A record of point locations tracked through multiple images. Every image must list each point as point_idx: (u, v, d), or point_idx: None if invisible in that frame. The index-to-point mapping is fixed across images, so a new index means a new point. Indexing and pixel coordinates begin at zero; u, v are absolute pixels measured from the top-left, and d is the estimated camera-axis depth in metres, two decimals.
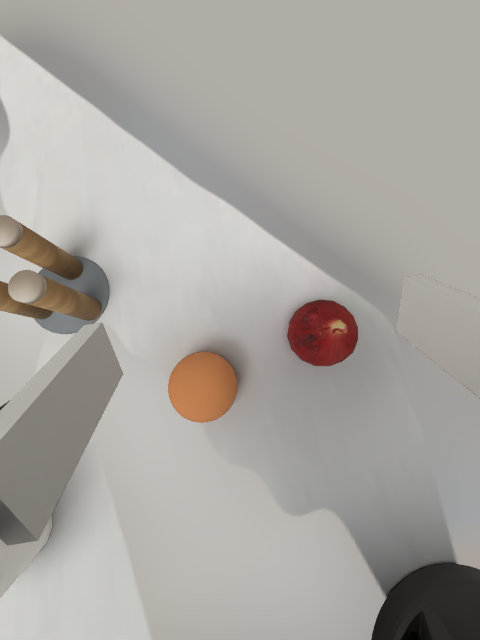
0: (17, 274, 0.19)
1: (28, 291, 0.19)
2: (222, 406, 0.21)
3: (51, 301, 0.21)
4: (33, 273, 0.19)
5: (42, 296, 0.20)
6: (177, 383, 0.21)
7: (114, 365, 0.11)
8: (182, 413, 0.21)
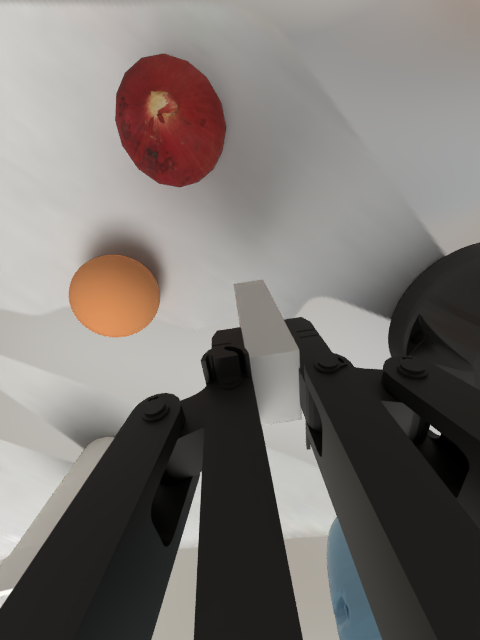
0: None
1: None
2: (142, 305, 0.18)
3: None
4: None
5: None
6: (82, 320, 0.17)
7: None
8: (118, 336, 0.19)
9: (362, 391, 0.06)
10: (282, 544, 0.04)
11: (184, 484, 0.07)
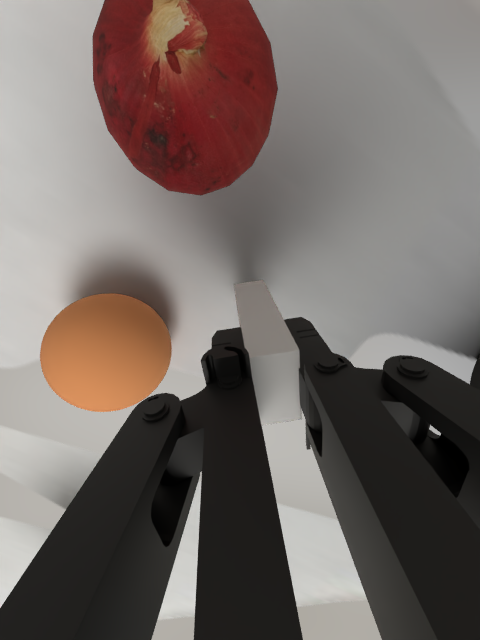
0: None
1: None
2: (147, 369, 0.12)
3: None
4: None
5: None
6: (60, 396, 0.12)
7: None
8: (114, 410, 0.13)
9: (362, 391, 0.06)
10: (282, 544, 0.04)
11: (184, 484, 0.07)
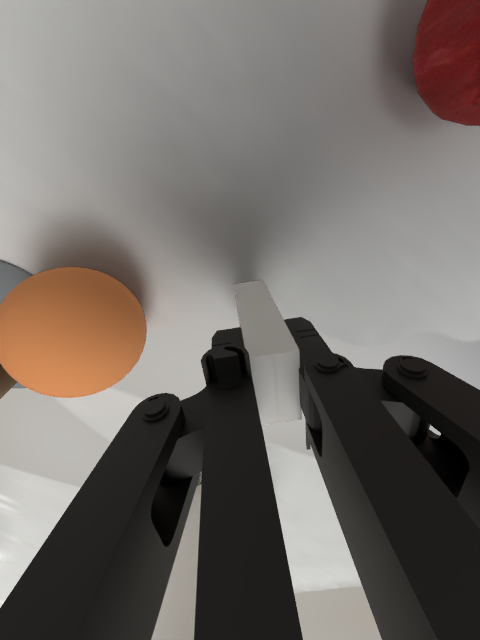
0: None
1: None
2: None
3: None
4: None
5: None
6: None
7: None
8: None
9: (362, 391, 0.06)
10: (282, 544, 0.04)
11: (184, 484, 0.07)
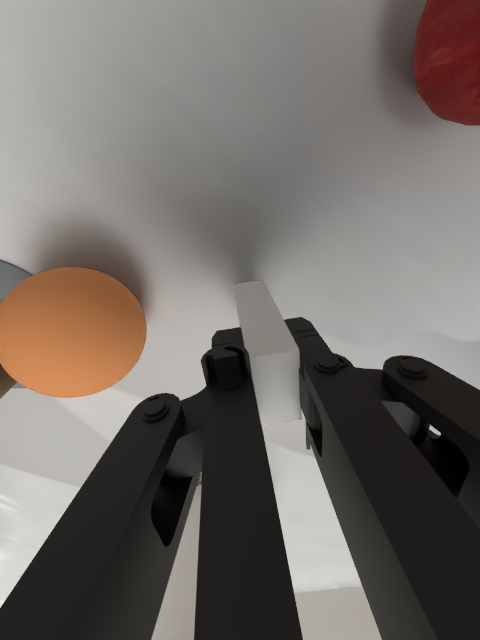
0: None
1: None
2: None
3: None
4: None
5: None
6: None
7: None
8: None
9: (362, 391, 0.06)
10: (282, 544, 0.04)
11: (184, 484, 0.07)
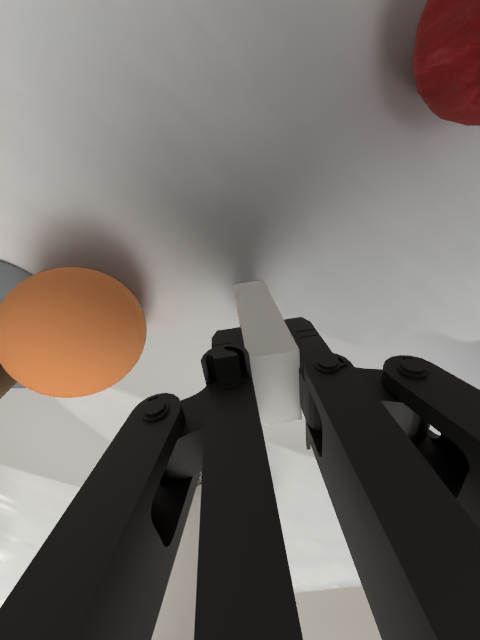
0: None
1: None
2: None
3: None
4: None
5: None
6: None
7: None
8: None
9: (362, 391, 0.06)
10: (282, 544, 0.04)
11: (184, 484, 0.07)
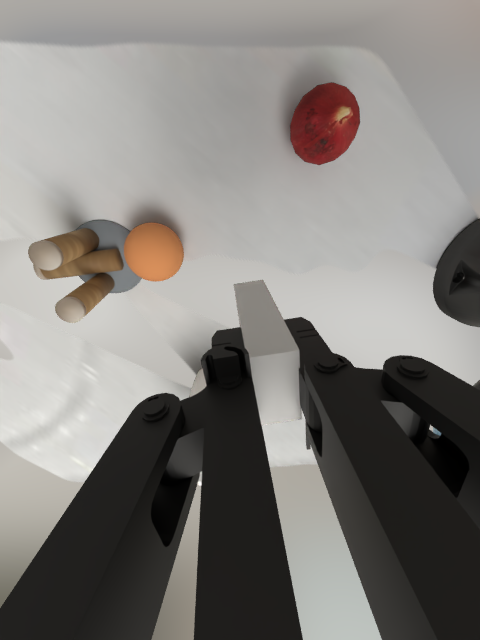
0: None
1: None
2: None
3: (50, 271, 0.29)
4: None
5: (40, 271, 0.28)
6: None
7: None
8: None
9: (362, 391, 0.06)
10: (282, 544, 0.04)
11: (184, 484, 0.07)
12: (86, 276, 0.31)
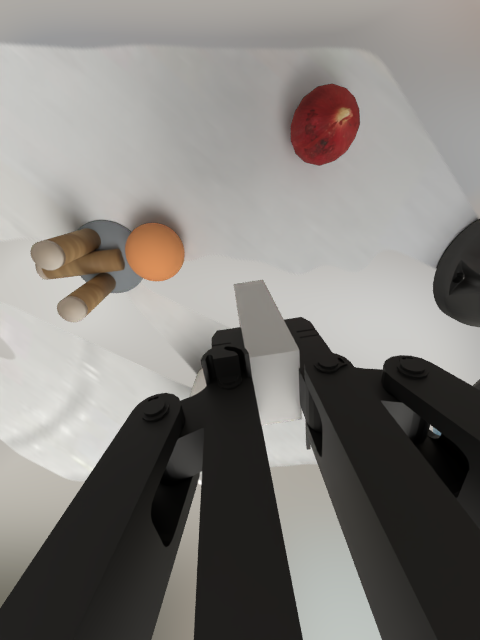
0: None
1: None
2: None
3: (52, 271, 0.29)
4: None
5: (42, 271, 0.29)
6: None
7: None
8: None
9: (362, 391, 0.06)
10: (282, 544, 0.04)
11: (184, 484, 0.07)
12: (87, 276, 0.31)
